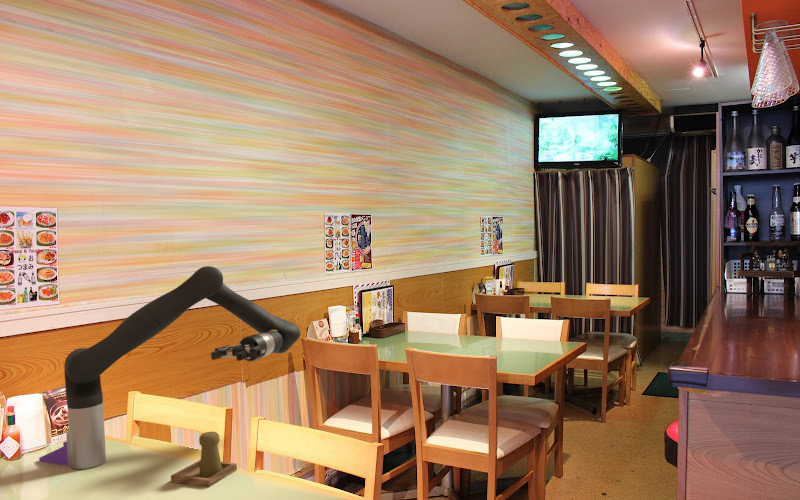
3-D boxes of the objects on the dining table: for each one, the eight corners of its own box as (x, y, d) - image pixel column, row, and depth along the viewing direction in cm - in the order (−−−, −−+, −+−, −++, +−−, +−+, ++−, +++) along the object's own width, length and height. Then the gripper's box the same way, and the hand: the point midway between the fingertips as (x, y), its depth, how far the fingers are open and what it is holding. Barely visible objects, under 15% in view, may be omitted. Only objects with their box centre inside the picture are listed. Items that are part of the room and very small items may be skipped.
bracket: (89, 458, 187) (88, 435, 187) (69, 466, 180) (68, 443, 180) (59, 454, 191) (58, 432, 191) (39, 462, 185) (38, 439, 185)
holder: (171, 482, 164) (170, 475, 164) (200, 465, 176) (200, 459, 175) (208, 487, 160) (208, 480, 160) (236, 470, 171) (236, 463, 171)
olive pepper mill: (216, 478, 164) (214, 436, 164) (195, 477, 165) (193, 436, 165) (226, 469, 170) (224, 429, 170) (205, 468, 171) (203, 429, 171)
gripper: (237, 333, 195) (203, 343, 180) (276, 334, 190) (245, 344, 175) (238, 357, 195) (204, 369, 180) (277, 359, 190) (246, 370, 175)
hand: (224, 356), depth 177 cm, fingers open, 8 cm apart
